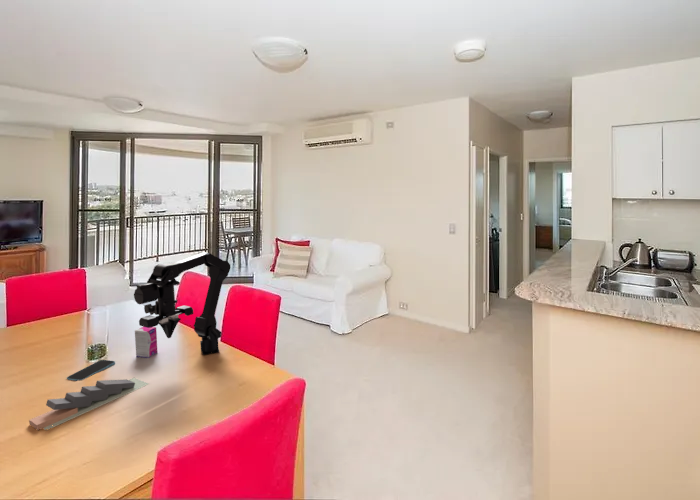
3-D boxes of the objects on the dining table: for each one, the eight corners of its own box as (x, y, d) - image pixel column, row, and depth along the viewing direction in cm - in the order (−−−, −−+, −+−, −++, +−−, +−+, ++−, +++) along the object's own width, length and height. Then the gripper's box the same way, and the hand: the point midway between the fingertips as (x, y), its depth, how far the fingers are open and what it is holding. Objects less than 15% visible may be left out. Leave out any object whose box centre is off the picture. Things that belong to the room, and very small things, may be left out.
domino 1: (69, 403, 115) (29, 419, 106) (77, 407, 112) (36, 425, 104) (69, 407, 115) (29, 425, 106) (77, 412, 112) (37, 430, 104)
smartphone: (64, 378, 134) (101, 359, 148) (65, 380, 134) (101, 362, 148) (80, 380, 132) (116, 361, 146) (81, 383, 132) (116, 363, 146)
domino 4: (113, 384, 126) (82, 386, 118) (122, 388, 124) (90, 390, 115) (112, 389, 126) (80, 391, 117) (120, 393, 123) (88, 395, 115)
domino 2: (83, 396, 118) (47, 399, 110) (92, 400, 116) (55, 404, 107) (82, 401, 118) (45, 405, 109) (90, 406, 116) (54, 409, 107)
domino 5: (126, 379, 130) (96, 380, 121) (135, 382, 127) (105, 384, 119) (125, 384, 130) (95, 385, 121) (133, 387, 127) (103, 389, 119)
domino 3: (100, 390, 122) (66, 392, 114) (108, 394, 120) (74, 397, 111) (98, 395, 122) (64, 398, 114) (106, 399, 120) (72, 402, 111)
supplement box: (148, 358, 151) (146, 331, 149) (135, 357, 152) (133, 330, 150) (158, 352, 156) (156, 326, 155) (146, 351, 157) (144, 325, 156)
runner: (134, 378, 134) (134, 377, 134) (149, 384, 130) (149, 383, 130) (31, 421, 108) (31, 420, 108) (46, 431, 104) (46, 430, 104)
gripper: (174, 289, 151) (177, 326, 153) (128, 300, 135) (132, 342, 137) (193, 293, 145) (195, 331, 147) (147, 305, 129) (150, 348, 131)
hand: (169, 337), depth 141 cm, fingers closed
